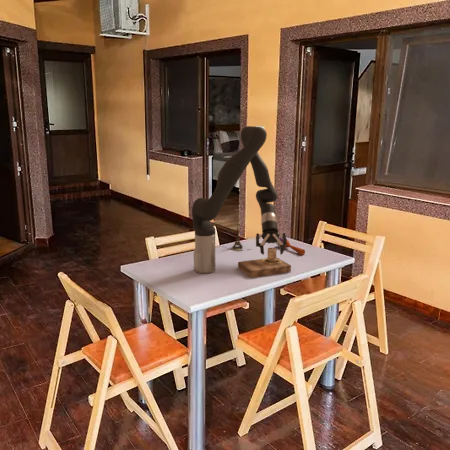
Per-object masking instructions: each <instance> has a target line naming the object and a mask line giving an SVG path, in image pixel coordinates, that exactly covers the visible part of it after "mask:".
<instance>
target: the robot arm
mask: <svg viewBox="0 0 450 450" xmlns="http://www.w3.org/2000/svg"><path fill="white" fill-rule="evenodd" d="M267 133H268V132H267V130H266V129H265V128H264V127H262V126H252V125H251V126H250V125H247V126H244V127H243V128H242V130H241V132H240V140H241V143H242V145H243V147H242V148H241V149H240V150H239V151H238V152H236V153H234V154H233V155H232V156H231V157H229V158H228V159H227V160H226V161H225V163H224V164H223V165H222V167H221V168H220V170H219V172H218V175H217V180H216V187H215V189H214V192H213V193H212V194H211V196H210V197H209V198H205V197H204V198H203V197H198V198H196V199H195V201H194V202H193V204H192V207H191V213H192V214H191V217H192V227H193V231H194V249H193V270H194V271H195V272H196V273H197V274H211V273H214V272H215V271H216V228H215V226H214V225H213V224H212V223H211V221H213V220H215V218H217V216H218V215H219V213H220V211H221V210H222V208H223V205H224V204H225V202H226V200H227V198H228V196H229V195H230V194H231V192H232V191H233V188H234V187H235V185H236V183H237V182H238V181H239V180H240V178H241V176H242V175H243V173H244V171H245V170H246V168H248V165H249V164H250V165H251V169H252V171H253V174H254V180H255V184H256V186H257V187H259V188H263V189H259V190H257V191H256V192H255V198H256V199H255V200H256V202H257V203H258V205H259V208H260V214H261V215H260V217H261V218H260V219H261V220H260V225H261V231H262V233H261V234H259V233H256V234H255V247H259V249H260V250H259V251H260V254H261V255H262V256H264V255H265V249H264V246H265V245H266V244H276V245H277V246H278V245H279V246H280V247H279V246H278V247H279V253H280V255H283V254H284V252H285V251H284V250H285V248H283V247H284V246H286V244H287V240H288V239H287V240H286V238H287V237H286V233H285V232H283V233H281V234H280V233H279V227H278V219H277V214H276V207H275V205H274V204H273V202H274V203H275V202H276V201H277V200H278V192H277V190H276V188H275V187H274V185H273V183H272V180H271V178H270V172H269V168H268V166H267V164H266V163H265V161H264V160H263V158H262V156H261V155H260V153H259V151H260V149H261V148H262V147H263V145H264V144H265V143H266V140H267V136H268V135H267ZM279 237H281V239H283V243H282V242H281V241H280V239H279ZM260 239H262V242H260Z"/></svg>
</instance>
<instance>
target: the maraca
mask: <svg viewBox="0 0 450 450" xmlns="http://www.w3.org/2000/svg"><path fill="white" fill-rule="evenodd" d="M279 239H280V241H281V242H282V243H283V239H281V237H279ZM286 240H287V244H286V246H284V247H283V249H286V248H287V249H288V248H291V250H293V251H294V252H296V254H298V255H300V256H304V255H305V253H306V251H305V249H303V248H300V247H297V246H295V245H291V243H290V241H289V239H288V238H287V237H286ZM277 247H279V248H280V246H279V245H277Z"/></svg>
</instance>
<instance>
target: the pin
mask: <svg viewBox="0 0 450 450" xmlns="http://www.w3.org/2000/svg"><path fill="white" fill-rule="evenodd" d="M276 257H277V248H276V247H268V248H267V258H268V260H267V262H268V263H275V262H276Z"/></svg>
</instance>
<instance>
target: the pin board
mask: <svg viewBox="0 0 450 450" xmlns="http://www.w3.org/2000/svg"><path fill="white" fill-rule="evenodd" d="M267 260H268V257H267V258H266V257H265V258H260V259H259V258H258V259H251V260H250V259H249V260H243V261H242V260H241V261H237V269H238V270H240V271H241V272H243V273H244V274H246V275H247V276H248V277H250V278H252V279H253V278H257V277H264V276H270V275H271V276H272V275H278V274H283V273H284V274H285V273H291V272H292V265H291V264H289V263H287V262H285V261H284V260H282V259H280V258H278V257H277V256H276V262H275V263H268V262H267Z"/></svg>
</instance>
